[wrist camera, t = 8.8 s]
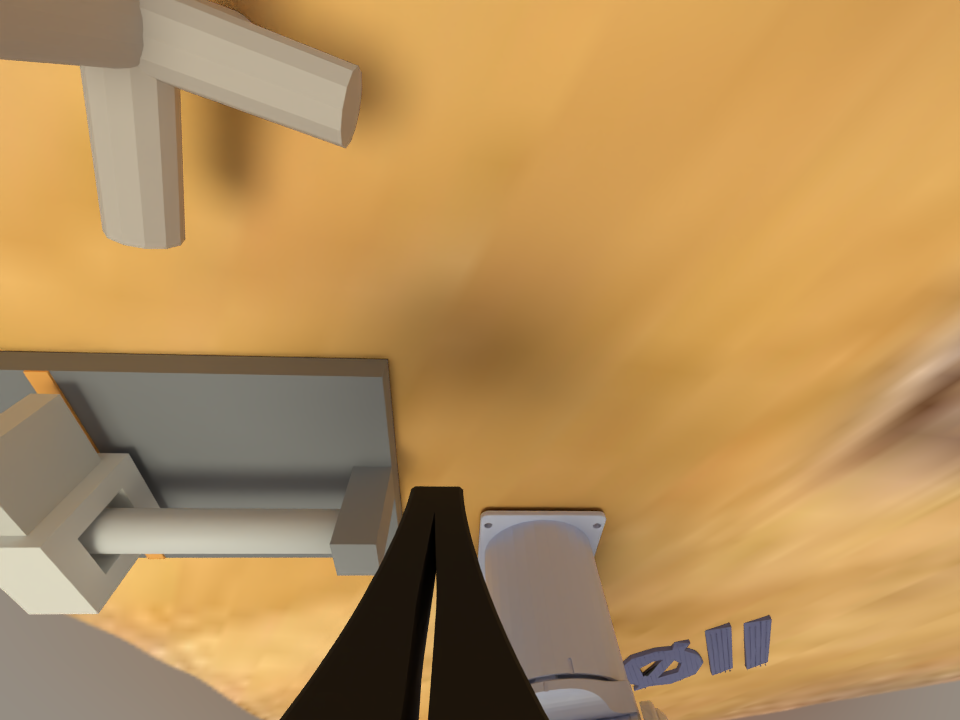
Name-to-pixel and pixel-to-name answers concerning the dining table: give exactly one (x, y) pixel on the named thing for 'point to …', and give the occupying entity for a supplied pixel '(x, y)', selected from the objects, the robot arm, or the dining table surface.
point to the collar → (59, 509)
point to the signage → (692, 661)
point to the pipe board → (234, 451)
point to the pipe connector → (173, 91)
